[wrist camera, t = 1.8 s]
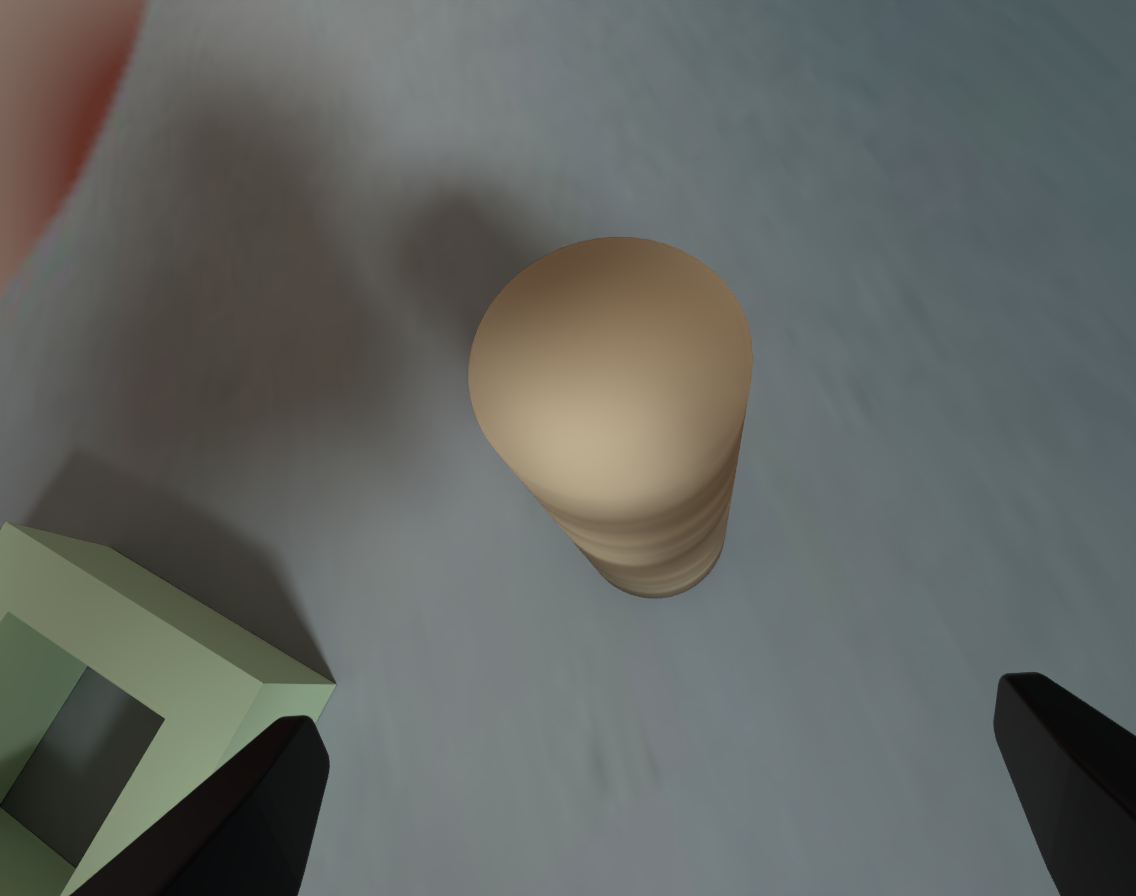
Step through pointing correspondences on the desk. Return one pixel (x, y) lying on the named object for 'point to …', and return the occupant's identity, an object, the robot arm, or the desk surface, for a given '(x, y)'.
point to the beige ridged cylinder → (620, 403)
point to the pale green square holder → (125, 686)
